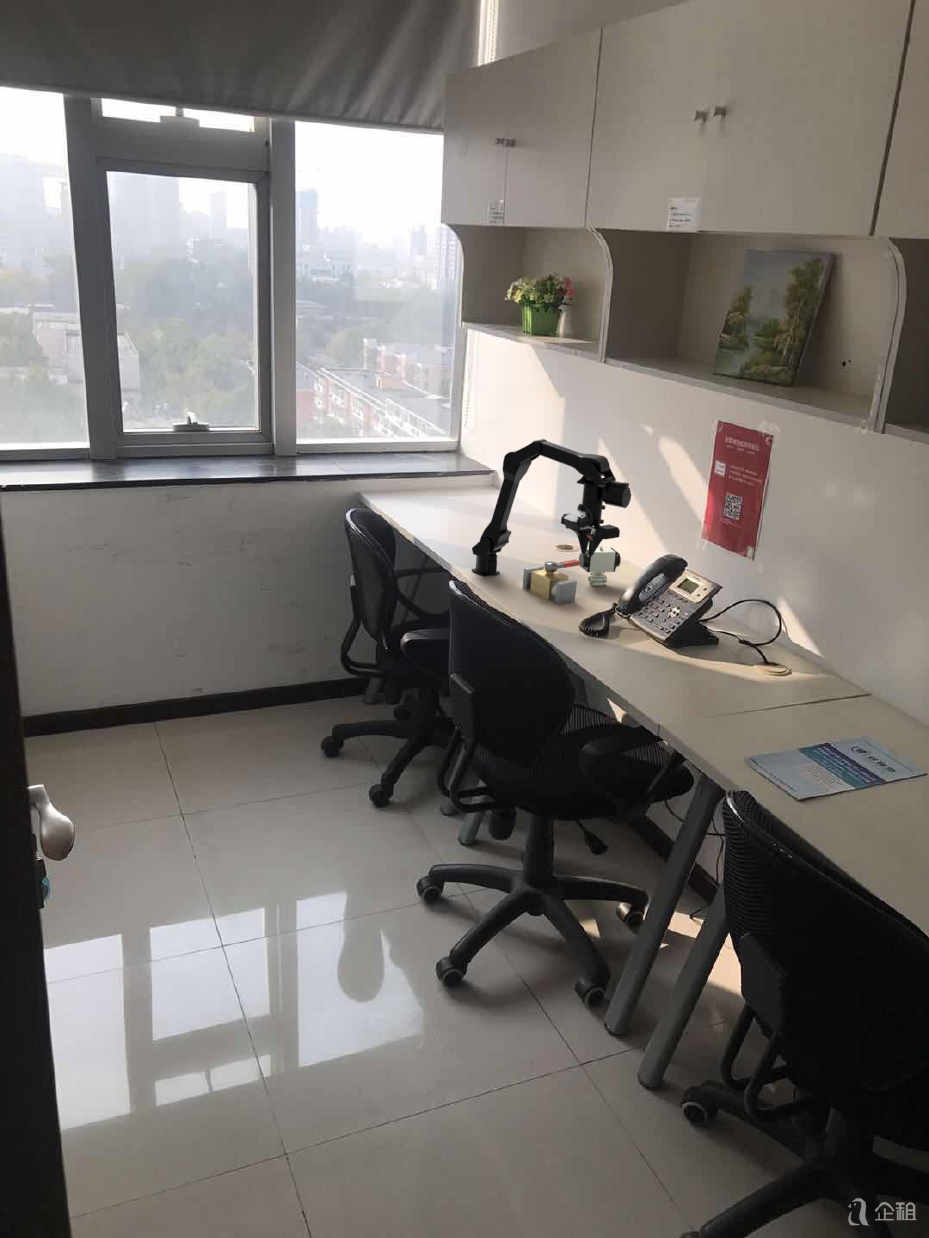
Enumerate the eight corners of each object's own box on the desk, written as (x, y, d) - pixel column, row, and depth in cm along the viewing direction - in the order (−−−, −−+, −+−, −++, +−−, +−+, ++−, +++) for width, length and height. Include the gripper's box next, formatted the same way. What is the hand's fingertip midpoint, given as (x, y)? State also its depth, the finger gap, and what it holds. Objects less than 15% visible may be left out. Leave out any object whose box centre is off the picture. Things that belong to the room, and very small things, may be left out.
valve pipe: (521, 588, 288) (523, 564, 286) (539, 585, 292) (541, 561, 290) (557, 605, 276) (559, 580, 274) (575, 601, 280) (578, 577, 278)
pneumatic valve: (617, 586, 295) (622, 548, 291) (581, 587, 293) (585, 549, 288) (611, 580, 300) (615, 543, 296) (575, 581, 298) (578, 543, 293)
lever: (549, 572, 279) (550, 566, 279) (541, 569, 282) (542, 562, 281) (581, 567, 286) (582, 560, 285) (573, 563, 289) (573, 557, 288)
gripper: (548, 496, 276) (544, 549, 282) (594, 512, 262) (588, 567, 268) (578, 493, 282) (573, 545, 288) (624, 508, 268) (617, 562, 274)
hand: (586, 554), depth 279 cm, fingers open, 3 cm apart
